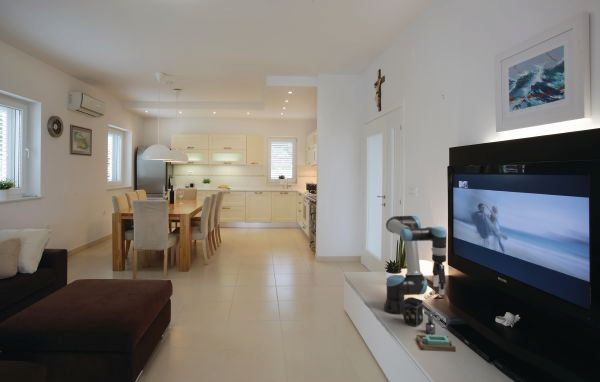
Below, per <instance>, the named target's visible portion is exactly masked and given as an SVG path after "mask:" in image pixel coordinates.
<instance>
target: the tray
mask: <svg viewBox="0 0 600 382" xmlns="http://www.w3.org/2000/svg"><path fill="white" fill-rule="evenodd" d="M425 335H426V334H416V340H417V343H418V345H419V347H420V350H421V351H435V352H436V351H439V352H456V346H455V344H454V342H453V341H452V340H451V338H450V337H449V335H445V336H446V337H447V338H448V340H449V341H450V346H434V345H427V344H423V340H422V337H425Z"/></svg>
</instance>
